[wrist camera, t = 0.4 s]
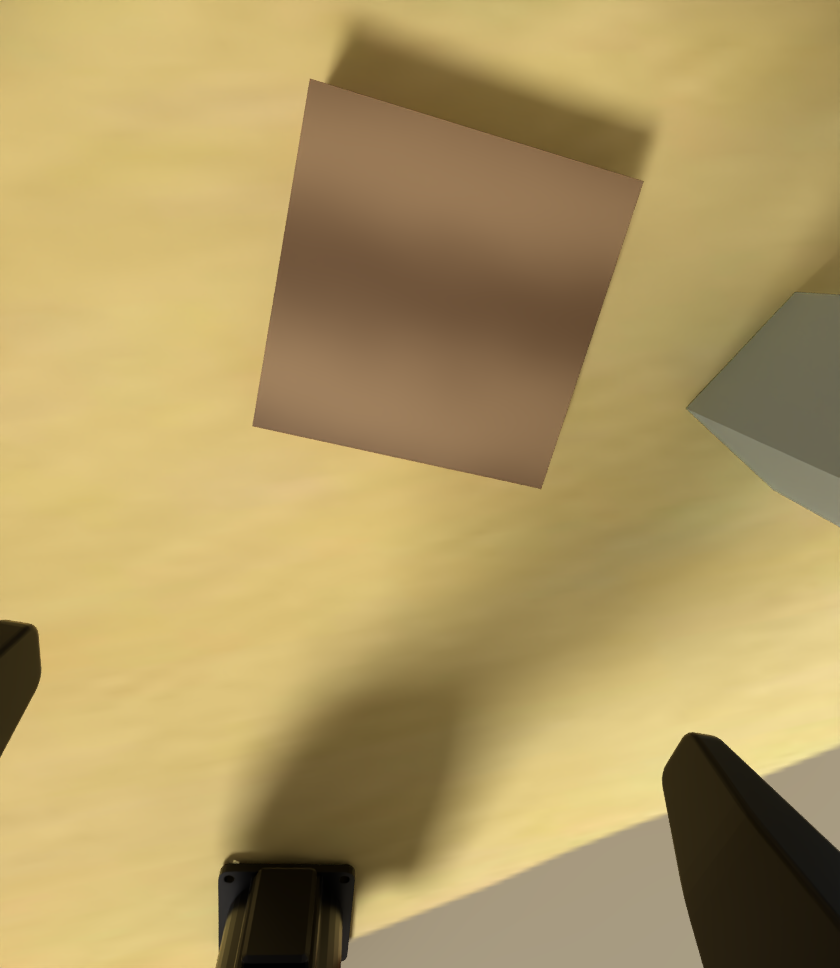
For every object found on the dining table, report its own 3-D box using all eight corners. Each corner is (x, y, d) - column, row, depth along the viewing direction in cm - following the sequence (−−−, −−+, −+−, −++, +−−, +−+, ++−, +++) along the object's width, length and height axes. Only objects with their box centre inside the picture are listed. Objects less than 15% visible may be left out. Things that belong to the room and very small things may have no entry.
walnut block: (521, 462, 24) (541, 488, 21) (267, 406, 22) (252, 426, 20) (606, 193, 21) (643, 181, 18) (318, 106, 19) (309, 78, 16)
